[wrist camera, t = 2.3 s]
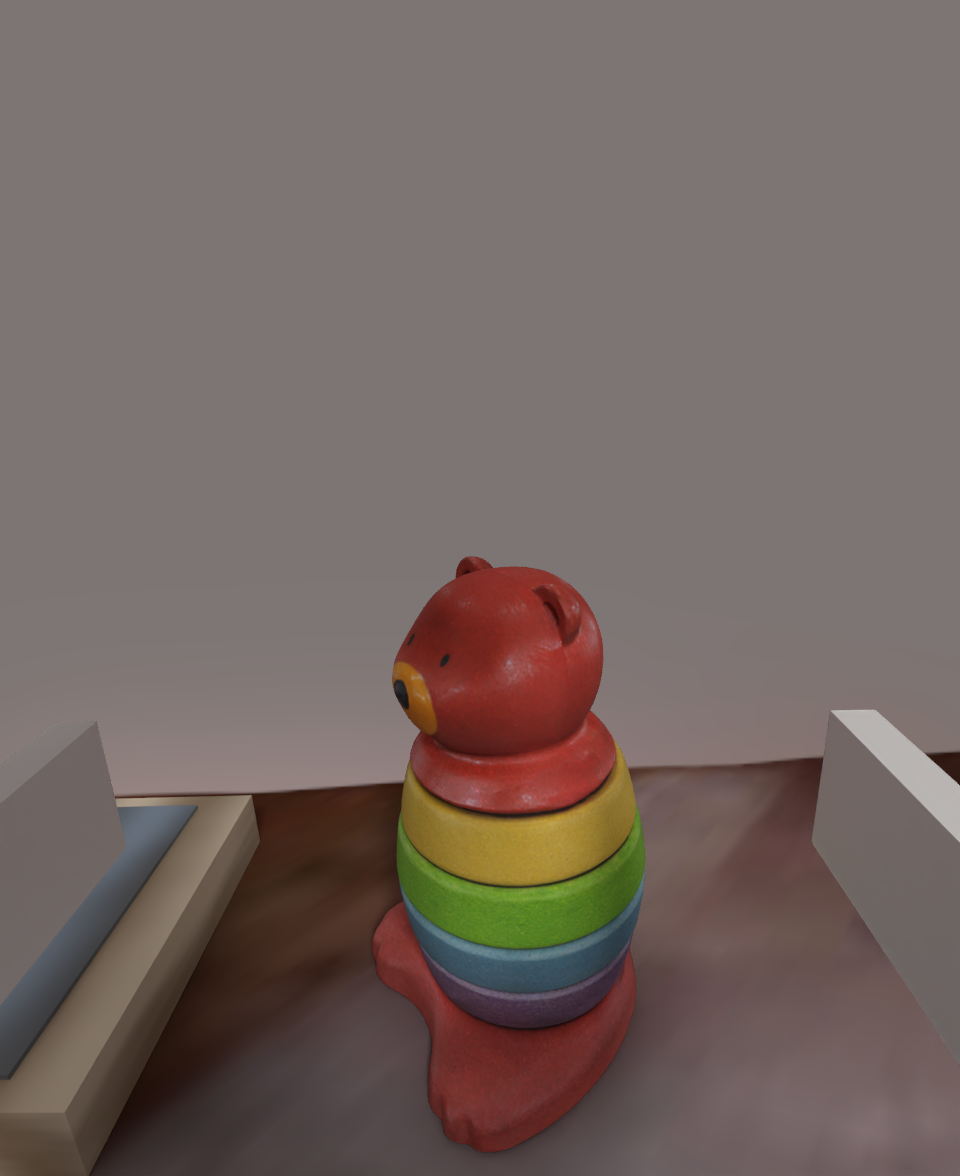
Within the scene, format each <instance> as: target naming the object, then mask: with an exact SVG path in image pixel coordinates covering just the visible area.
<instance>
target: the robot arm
mask: <svg viewBox="0 0 960 1176" xmlns="http://www.w3.org/2000/svg"><path fill="white" fill-rule="evenodd" d="M812 844H813V845H814V847H815V848H816V850H817V851H818V853H819V854H820V856H821V857H822V859H823V860H824V862H825V863H826V865H827V866H828V868H829V869H830V871H831V872H832V874H833V875H834V877H835V878H836V880H837V881H838V883H839V884H840V886H841V887H842V889H843V890H844V892H845V893H846V895H847V896H848V898H849V899H850V901H851V902H852V904H853V906H854V907H855V909H856V910H857V912H858V913H859V915H860V916H861V918H862V919H863V921H864V922H865V924H866V925H867V927H868V928H869V930H870V931H871V933H872V934H873V936H874V937H875V939H876V940H877V942H878V943H879V945H880V946H881V948H882V949H883V951H884V952H885V954H886V955H887V957H888V958H889V960H890V961H891V963H892V964H893V966H894V967H895V969H896V970H897V972H898V973H899V975H900V976H901V978H902V979H903V981H904V983H905V984H906V986H907V987H908V989H909V990H910V992H911V993H912V995H913V996H914V998H915V999H916V1001H917V1002H918V1004H919V1005H920V1007H921V1008H922V1010H923V1011H924V1013H925V1014H926V1016H927V1017H928V1019H929V1020H930V1022H931V1023H932V1025H933V1026H934V1028H935V1029H936V1031H937V1032H938V1034H939V1035H940V1037H941V1038H942V1040H943V1041H944V1043H945V1044H946V1046H947V1047H948V1049H949V1050H950V1052H951V1053H952V1055H953V1056H954V1058H955V1059H956V1061H957V1063H958V1064H959V1066H960V785H959V784H958V783H956V782H955V781H954V780H953V779H952V778H951V777H950V776H949V775H948V774H946V773H945V772H944V771H943V770H942V769H941V768H940V767H939V766H938V765H936V764H935V763H934V762H933V761H932V760H931V759H930V758H929V757H927V756H926V755H925V754H924V753H923V752H922V751H921V750H920V749H919V748H917V747H916V746H915V745H914V744H913V743H912V742H911V741H910V740H909V739H907V738H906V737H905V736H904V735H903V734H902V733H901V732H899V731H898V730H897V729H896V728H895V727H894V726H893V725H892V724H891V723H890V722H888V721H887V720H886V719H885V718H884V717H883V716H882V715H881V714H880V713H878V712H877V711H876V710H831V711H830V716H829V723H828V730H827V737H826V744H825V751H824V758H823V765H822V772H821V779H820V786H819V793H818V800H817V807H816V815H815V822H814V829H813V836H812ZM125 848H126V843H125V839H124V834H123V830H122V826H121V822H120V818H119V813H118V809H117V805H116V801H115V797H114V792H113V788H112V784H111V780H110V775H109V771H108V767H107V764H106V759H105V755H104V751H103V746H102V742H101V738H100V734H99V729H98V725H97V722H96V721H95V722H94V721H89V722H55V723H54V724H53V725H51V726H50V727H49V728H48V729H46V730H45V731H44V732H42V733H41V734H40V735H38V736H37V737H36V738H35V739H33V740H32V741H31V742H30V743H28V744H27V745H26V746H24V747H23V748H22V749H20V750H19V751H18V752H17V753H15V754H14V755H13V756H12V757H10V758H9V759H8V760H6V761H5V762H4V763H3V764H1V765H0V1005H1V1004H2V1003H3V1001H4V1000H5V999H6V998H7V996H8V995H9V994H10V993H11V991H12V990H13V989H14V988H15V986H16V985H17V984H18V983H19V981H20V980H21V979H22V978H23V976H24V975H25V974H26V973H27V971H28V970H29V969H30V968H31V966H32V965H33V964H34V963H35V961H36V960H37V959H38V957H39V956H40V955H41V954H42V952H43V951H44V950H45V949H46V947H47V946H48V945H49V944H50V942H51V941H52V940H53V939H54V937H55V936H56V935H57V934H58V932H59V931H60V930H61V929H62V927H63V926H64V925H65V924H66V922H67V921H68V920H69V919H70V917H71V916H72V915H73V914H74V912H75V911H76V910H77V909H78V907H79V906H80V905H81V904H82V902H83V901H84V900H85V898H86V897H87V896H88V895H89V893H90V892H91V891H92V890H93V888H94V887H95V886H96V885H97V883H98V882H99V881H100V880H101V878H102V877H103V876H104V875H105V873H106V872H107V871H108V870H109V868H110V867H111V866H112V865H113V863H114V862H115V861H116V860H117V858H118V857H119V856H120V855H121V853H122V852H123V851H124V850H125Z"/></svg>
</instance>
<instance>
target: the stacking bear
mask: <svg viewBox="0 0 960 1176" xmlns="http://www.w3.org/2000/svg"><path fill="white" fill-rule="evenodd" d="M602 668H603V644H602V637H601V634H600V629H599V627H598V624H597V621H596V619H595V617H594V614H593V613H592V611H591V609H590V607H589V606H588V604H587V603H586V601H585V600H584V599H583V597H582V596H581V595H580V594H579V593H578V592H577V591H576V590H575V589H574V588H573V587H572V586H571V585H570V584H568V583H567V582H565V581H564V580H562V579H561V578H559V577H557V576H555V575H553V574H551V573H549V572H546V571H543V570H539V569H534V568H528V567H500V568H493V567H492V566H491V565H490V564H489V563H488V562H487V561H486V560H484V559H481V558H478V557H465V558H464V559H463V560H461V561H460V563H459V565H458V567H457V570H456V579H454V580H452V581H451V582H449V583H447V584H446V585H445V586H443V587H442V588H441V589H440V590H438V591H437V592H436V593H435V594H434V595H433V596H432V598H431V599H430V600H429V601H428V603H427V604H426V606H425V607H424V608H423V610H422V612H421V613H420V615H419V616H418V618H417V619H416V621H415V623H414V625H413V626H412V628H411V630H410V631H409V633H408V635H407V637H406V638H405V640H404V642H403V644H402V646H401V648H400V650H399V652H398V654H397V656H396V659H395V662H394V668H393V677H392V682H393V688H394V692H395V694H396V697H397V699H398V701H399V703H400V704H401V706H402V708H403V710H404V711H405V713H406V715H407V716H408V718H409V719H410V720H411V721H412V723H413V724H414V725H415V726H417V727H418V728H419V729H420V730H421V731H420V733H419V734H418V736H417V737H416V739H415V741H414V743H413V746H412V749H411V753H410V761H409V763H408V767H407V771H406V776H405V781H404V787H403V794H402V807H401V813H400V816H399V821H398V831H397V871H398V876H399V883H400V889H401V893H402V897H403V901H402V902H400V903H399V904H397V905H396V906H394V907H393V908H391V909H390V910H389V911H388V912H387V913H386V914H385V916H384V918H383V920H382V922H381V923H380V925H379V926H378V927H377V929H376V931H375V934H374V936H373V941H372V954H373V957H374V959H375V961H376V972H377V975H378V976H379V978H380V979H381V981H382V982H383V983H385V984H386V985H387V986H388V987H390V988H392V989H393V990H395V991H397V992H399V993H400V994H402V995H403V996H405V997H407V998H408V999H409V1000H410V1001H411V1002H413V1004H414V1005H415V1006H416V1007H417V1008H418V1009H419V1011H420V1012H421V1013H422V1015H423V1017H424V1018H425V1021H426V1023H427V1026H428V1028H429V1031H430V1035H431V1039H432V1053H431V1061H430V1067H429V1074H428V1098H429V1104H430V1107H431V1109H432V1110H433V1112H434V1113H435V1114H436V1115H437V1116H438V1117H439V1118H440V1119H441V1120H442V1123H443V1131H444V1133H445V1135H446V1136H447V1138H448V1139H450V1140H452V1141H455V1142H457V1143H463V1144H469V1145H471V1146H472V1147H473V1148H474V1149H476V1150H478V1151H482V1152H497V1151H502V1150H506V1149H509V1148H511V1147H514V1146H516V1145H518V1144H519V1143H521V1142H523V1141H525V1140H527V1139H529V1138H530V1137H532V1136H534V1135H535V1134H537V1133H539V1132H541V1131H542V1130H544V1129H545V1128H547V1127H548V1126H549V1125H551V1124H552V1123H554V1122H555V1121H556V1120H558V1119H559V1118H560V1117H561V1116H563V1115H564V1114H565V1113H566V1112H568V1111H569V1110H570V1109H571V1108H573V1107H574V1106H575V1105H576V1104H577V1103H578V1102H579V1101H580V1100H581V1099H582V1097H583V1096H584V1095H585V1094H586V1093H587V1092H588V1091H589V1090H590V1089H591V1088H592V1087H593V1086H594V1085H595V1083H596V1082H597V1081H598V1080H599V1078H600V1077H601V1076H602V1075H603V1073H604V1072H605V1070H606V1069H607V1067H608V1066H609V1064H610V1063H611V1061H612V1060H613V1058H614V1057H615V1055H616V1053H617V1051H618V1049H619V1048H620V1046H621V1044H622V1041H623V1039H624V1037H625V1035H626V1033H627V1030H628V1027H629V1024H630V1021H631V1017H632V1014H633V1011H634V1006H635V1000H636V978H635V970H634V965H633V961H632V957H631V953H630V950H629V947H630V943H631V939H632V935H633V931H634V928H635V925H636V922H637V919H638V914H639V910H640V905H641V900H642V895H643V888H644V881H645V847H644V838H643V831H642V825H641V820H640V814H639V811H638V808H637V805H636V802H635V796H634V791H633V786H632V782H631V778H630V774H629V771H628V768H627V765H626V761H625V758H624V756H623V754H622V751H621V749H620V748H619V746H618V744H617V743H616V742H615V740H614V739H613V738H612V735H611V734H610V732H609V731H608V729H607V728H606V726H605V725H604V724H603V723H602V722H601V721H600V719H599V718H598V717H597V716H596V715H595V714H593V713H592V712H591V711H590V708H591V706H592V704H593V702H594V700H595V697H596V694H597V692H598V689H599V685H600V680H601V676H602Z"/></svg>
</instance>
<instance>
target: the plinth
mask: <svg viewBox="0 0 960 1176" xmlns="http://www.w3.org/2000/svg"><path fill="white" fill-rule="evenodd" d="M115 801H116V805H117V809H118V813H119V818H120V822H121V826H122V830H123V834H124V839H125V843H126V848H125V850H124V851H123V852H122V853H121V855H120V856H119V857H118V858H117V860H116V861H115V862H114V863H113V865H112V866H111V867H110V868H109V870H108V871H107V872H106V873H105V875H104V876H103V877H102V878H101V880H100V881H99V882H98V883H97V885H96V886H95V887H94V888H93V890H92V891H91V892H90V893H89V895H88V896H87V897H86V898H85V900H84V901H83V902H82V904H81V905H80V906H79V907H78V909H77V910H76V911H75V912H74V914H73V915H72V916H71V917H70V919H69V920H68V921H67V922H66V924H65V925H64V926H63V927H62V929H61V930H60V931H59V932H58V934H57V935H56V936H55V937H54V939H53V940H52V941H51V942H50V944H49V945H48V946H47V947H46V949H45V950H44V951H43V952H42V954H41V955H40V956H39V957H38V959H37V960H36V961H35V963H34V964H33V965H32V966H31V968H30V969H29V970H28V971H27V973H26V974H25V975H24V976H23V978H22V979H21V980H20V981H19V983H18V984H17V985H16V986H15V988H14V989H13V990H12V991H11V993H10V994H9V995H8V996H7V998H6V999H5V1000H4V1001H3V1003H2V1004H1V1005H0V1176H89V1174H90V1172H91V1170H92V1168H93V1166H94V1164H95V1163H96V1161H97V1159H98V1157H99V1155H100V1153H101V1151H102V1149H103V1147H104V1145H105V1143H106V1141H107V1139H108V1137H109V1135H110V1133H111V1131H112V1129H113V1127H114V1126H115V1124H116V1122H117V1120H118V1118H119V1116H120V1114H121V1112H122V1110H123V1108H124V1106H125V1104H126V1102H127V1100H128V1098H129V1096H130V1094H131V1092H132V1090H133V1088H134V1087H135V1085H136V1083H137V1081H138V1079H139V1077H140V1075H141V1073H142V1071H143V1069H144V1067H145V1065H146V1063H147V1061H148V1059H149V1057H150V1055H151V1053H152V1051H153V1050H154V1048H155V1046H156V1044H157V1042H158V1040H159V1038H160V1036H161V1034H162V1032H163V1030H164V1028H165V1026H166V1024H167V1022H168V1020H169V1018H170V1016H171V1014H172V1013H173V1011H174V1009H175V1007H176V1005H177V1003H178V1001H179V999H180V997H181V995H182V993H183V991H184V989H185V987H186V985H187V983H188V981H189V979H190V977H191V975H192V974H193V972H194V970H195V968H196V966H197V964H198V962H199V960H200V958H201V956H202V954H203V952H204V950H205V948H206V946H207V944H208V942H209V940H210V938H211V937H212V935H213V933H214V931H215V929H216V927H217V925H218V923H219V921H220V919H221V917H222V915H223V913H224V911H225V909H226V907H227V905H228V903H229V901H230V900H231V898H232V896H233V894H234V892H235V890H236V888H237V886H238V884H239V882H240V880H241V878H242V876H243V874H244V872H245V870H246V868H247V866H248V864H249V862H250V861H251V859H252V857H253V855H254V853H255V851H256V849H257V847H258V845H259V843H260V837H259V832H258V827H257V822H256V816H255V811H254V806H253V801H252V795H247V796H208V797H168V798H129V799H115Z"/></svg>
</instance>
